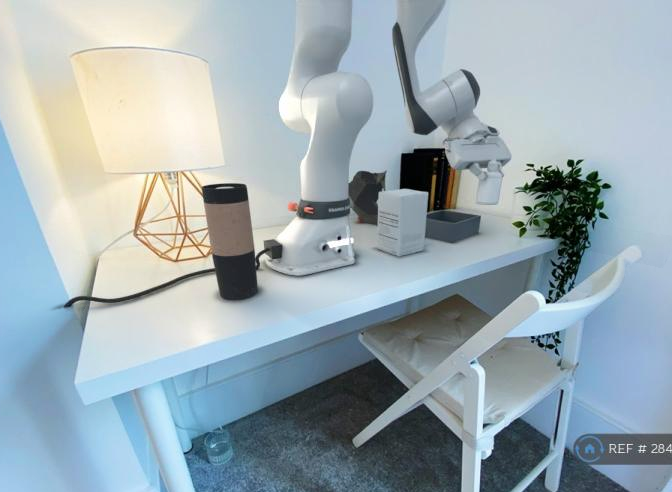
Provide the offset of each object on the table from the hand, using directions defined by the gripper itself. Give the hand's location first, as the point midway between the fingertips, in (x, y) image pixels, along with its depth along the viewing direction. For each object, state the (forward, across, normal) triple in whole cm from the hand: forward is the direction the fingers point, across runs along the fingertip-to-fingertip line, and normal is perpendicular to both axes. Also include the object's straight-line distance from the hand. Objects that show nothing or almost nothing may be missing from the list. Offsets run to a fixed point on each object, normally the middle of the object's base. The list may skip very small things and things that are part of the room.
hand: (492, 178), depth 89 cm
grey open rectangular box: (+4, -3, +20) cm, 21 cm away
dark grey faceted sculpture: (-13, -14, +38) cm, 43 cm away
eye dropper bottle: (+4, 0, +5) cm, 7 cm away
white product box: (+8, -25, +16) cm, 31 cm away
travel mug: (+12, -69, +12) cm, 71 cm away
